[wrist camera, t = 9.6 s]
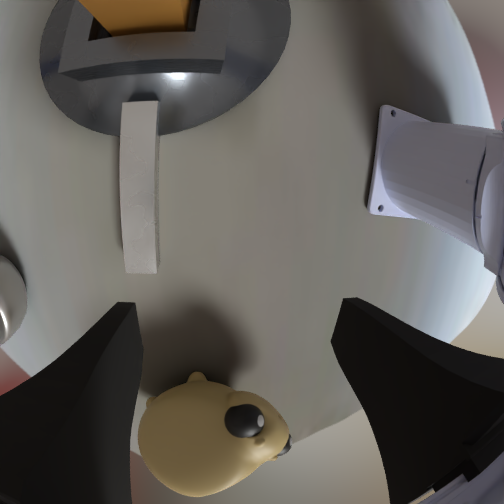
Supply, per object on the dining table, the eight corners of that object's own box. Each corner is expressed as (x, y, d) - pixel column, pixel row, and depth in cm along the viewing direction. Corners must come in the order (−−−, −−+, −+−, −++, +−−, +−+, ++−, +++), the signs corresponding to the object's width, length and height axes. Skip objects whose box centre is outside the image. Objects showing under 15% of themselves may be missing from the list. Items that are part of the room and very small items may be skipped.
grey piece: (291, -50, 10) (309, -76, 6) (264, 262, 19) (279, 291, 16) (76, -42, 7) (59, -64, 3) (45, 260, 16) (21, 285, 13)
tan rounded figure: (284, 391, 25) (317, 482, 16) (184, 428, 25) (189, 512, 16) (240, 330, 21) (271, 452, 11) (123, 378, 21) (108, 482, 12)
